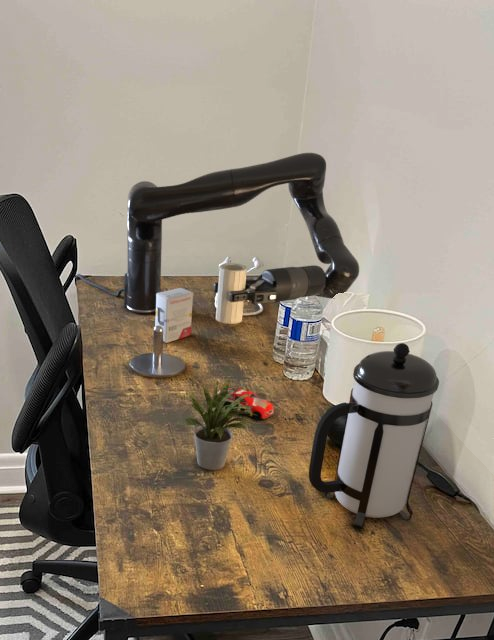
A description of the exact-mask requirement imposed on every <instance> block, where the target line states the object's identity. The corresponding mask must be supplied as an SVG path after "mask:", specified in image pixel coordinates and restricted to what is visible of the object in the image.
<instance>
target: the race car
mask: <svg viewBox="0 0 494 640" xmlns="http://www.w3.org/2000/svg"><path fill="white" fill-rule="evenodd" d="M236 388H237V389H236ZM221 389H222V388H220V389H219V390H217V396H218V395H219V393H220V391H221ZM234 389H236V390H235V391H234V392H233V393H232V394H231V395H230V396H229V397H228V399H227V400H226V402H225V403H224V404H223V407H224V406H227V405H230V404H232V403H233V402H234V401H235V400H237V399H238V398H239V397H241V396H243V395H247V394H251V395H249V396H247V397H245V398H243V399H242V400H241V401H240V402H239V403H238V404H237V405H236V406H234V407H239V406H240V407H246V408H249V409H244V408H235V409H237V410H240V411H247V412H250V413H253V414H256V415H253V414H248V413H242V415H246V416H249V417H252V418H253V419H254V420H256V421H258V420H261V419H268V418H270V417H272V416H273V415H274V412H275V410H274V409H275V408H274V405H273V403H271V401H270V402H269V401H268V400H266V399H263V398H261V397H260V396H259V395H258V394H256V393H254V392H252V391H250V390H247V389H244V388H238V387H228V394H229V393H230V392H231V391H233V390H234ZM227 407H228V406H227ZM227 407H226V408H225V410H226V409H227ZM235 409H231V410H230V411H232V410H235Z"/></svg>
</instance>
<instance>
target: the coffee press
mask: <svg viewBox="0 0 494 640" xmlns="http://www.w3.org/2000/svg"><path fill="white" fill-rule="evenodd" d="M410 352H411V351H410V347H409V345H408V344H406V343H404V342H400V343H397V344H396V345H395V347H394V348H393V350H382V351H377V352H372V353H371V354H368V355H366V356H365V357H363V358H362V359H361V360H360V362H359V363H358V364H356V366H355V367H354V368H353V373H352V377H353V380H354V382H353V387H352V389H351V390H350V396H349V400H348V402H341V403H338V404H336V405H333V406H332V407H330V408H328V409H327V410H326V412H324V414H323V415H322V416H321V417H320V419H319V421H318V423H317V425H316V428H315V432H314V437H313V442H312V448H311V453H310V460H309V467H308V480H309V483H310V484H311V486H312V487H313V488H314V489H315V490H316V491H317V492H320V493H324V497H325V499H328V500H332V499H334V498H336V499H337V502H339V504H340V505H341V506H342V507H344V508H345V509H346V510H348V511H349V512H351V513H353V514H356V516H355V520H354V523H353V528H355V529H359V530H363V527H364V524H365V521H366V518H374V519H375V518H376V519H380V518H382V519H383V518H389V517H392V516H395V515H396V514H399V516H400V517H401V518H402V519H403V520H404V521H410V520H411V519H412V517H413V510H412V508H411V505H410V503H409V499H410V495H411V491H412V487H413V483H414V479H415V475H416V471H417V467H418V464H419V459H420V455H421V452H422V449H423V445H424V440H425V436H426V432H427V429H428V425H429V420H430V417H431V412H432V410H433V398H434V394H435V393H436V392H437V391H438V388H439V385H440V379H439V378H438V376H437V371H436V369H435V368H434V366H432V364H431V363H430V362H428V361H427V360H426V359H424V358H422V357H420V356H418V355H415V354H412V353H410ZM344 416H346V417H345V421H344V428H343V433H342V439H341V442H340V443H341V444H340V449H339V455H338V460H337V465H336V470H335V475H334V480H330V481H329V480H328V481H324V480H322V470H323V463H324V456H325V451H326V447H327V446H326V445H327V441H328V440H327V439H328V435H329V430H330V429H331V427H332V425H333V423H335V421H336V420H338V419H340V418H341V417H344ZM331 493H334V494H331ZM404 508H406V510H407V512H408V514H409V515H407V514H405V513H404V511H403V509H404Z"/></svg>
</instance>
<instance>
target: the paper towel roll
mask: <svg viewBox="0 0 494 640" xmlns="http://www.w3.org/2000/svg"><path fill="white" fill-rule="evenodd" d="M247 271H248V267H247V266H246V265H244V264H241V263H236V262H235V263H234V262H231V263H226V264H222V265H220V269H218V273H219V274H218V282H217V283H218V295H217V307H215V308H216V309H215V320H216V321H217V322H219V323H222V324H227V325H232V324H233V325H235V324H239V323H242V321H243V316H242V315H243V313H244V304H245V303H244V302H245V301H239V302H230V301H229V293H230V292H233V291H240V290H244V291H245V284H246V275H248V273H247Z"/></svg>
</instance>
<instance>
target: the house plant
mask: <svg viewBox="0 0 494 640" xmlns="http://www.w3.org/2000/svg"><path fill="white" fill-rule="evenodd" d="M230 384H231V378H230V379H228V380H227V381H225V382H224V384H223V386H221V388H220V389H221V391H220V393H219V395H218V396H217V392H218V385H219V380H217V381H216V382H215V385H214V388H213V394H212V396H211V394H210V392H209V390H208V388H207V387H206V386H205V384H203V383H201V387H202V389H203V393H202V392H200V390H197V389H192V390H193V391H195V392H198V393H199V394H201V395H202V397H203V399H204V401H205V404H206V410H207V411H206V410H205V409H204V407H203V405H202V403H201V401H200V400H199V398H198V397H196V396H195V394H194V393H193V392H190V391H188V392H189V393H187V392H185V395H187V396H188V397H189V398H190V399H189V398H186V397H182V396H181V397H179V396H177V397H176V399H185V400H188V401H190V402H191V406H192V408H194V409H195V410H196V411H197V412H198V413H199V415H200V416H201V418H202V420H203V423H204V425H203V424H201V423H200V422H199V421H198V420H197V419H195V418H193V417H187V418H185V420H184V422H183V425H184V427H186V426H187V427H188V426H196V425H197V426H198V427H197V428H195V430H194V432H193V436H194V443H195V452H196V460H197V465H198V466H199V467H200V468H202V469H204V470H209V471H216V470H220V469H222V468H224V467H225V466H226V462H227V458H228V455H229V451H230V447H231V444H232V440H233V436H234V433H233V431H231V428H235V429H242V430H245V431H247V429H246V427H245V425H249V426H250V427H251V424H250V422H249V420H247V418H243V417H234V416H236V415H241V414H242V413H248V414H253V413H250V412H247V411H240V410H237V409H235V408H244V409H249V408H246V407H240V406H239V407H234V406H236V405H237V404H238V403H239V402H240V401H241V400H242V399H243V398H245V397H247V396H249V395H251V394H247V395H243V396H241V397H239V398H238V399H237V400H235V401H234V402H233V403H232V404H230V405H227V406H228V407H227V406H224V407H223V404H224V403H225V402H226V400H227V399H228V397H229V396H230V395H231V394H232V393H233V392H234V391H235V390H236V389H237V388H238V387H235V388H236V389H234V390H233V391H231V392H230V393H229V394H228V388H229V386H230ZM226 407H227V409H226V410H225V408H226ZM231 409H235V410H231ZM242 415H243V414H242ZM253 415H256V414H253ZM199 425H200V426H199ZM184 427H183V428H184Z"/></svg>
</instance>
